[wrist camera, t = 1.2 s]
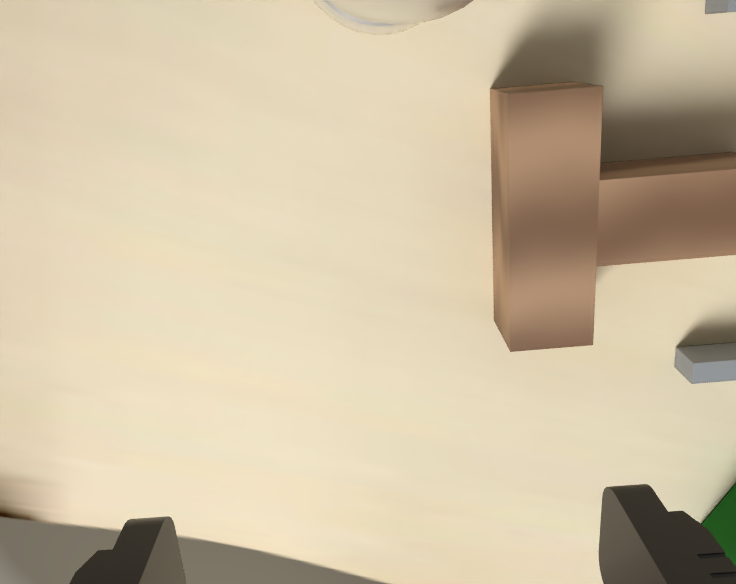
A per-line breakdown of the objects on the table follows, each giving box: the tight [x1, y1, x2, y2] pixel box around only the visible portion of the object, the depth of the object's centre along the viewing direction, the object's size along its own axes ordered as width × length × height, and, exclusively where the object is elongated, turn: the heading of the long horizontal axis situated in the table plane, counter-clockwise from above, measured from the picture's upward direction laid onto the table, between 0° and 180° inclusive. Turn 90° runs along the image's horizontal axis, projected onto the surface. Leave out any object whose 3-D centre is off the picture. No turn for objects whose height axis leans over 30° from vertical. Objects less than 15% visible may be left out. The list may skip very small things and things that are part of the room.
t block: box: [490, 82, 736, 352], centre depth 32 cm, size 12×12×4 cm
